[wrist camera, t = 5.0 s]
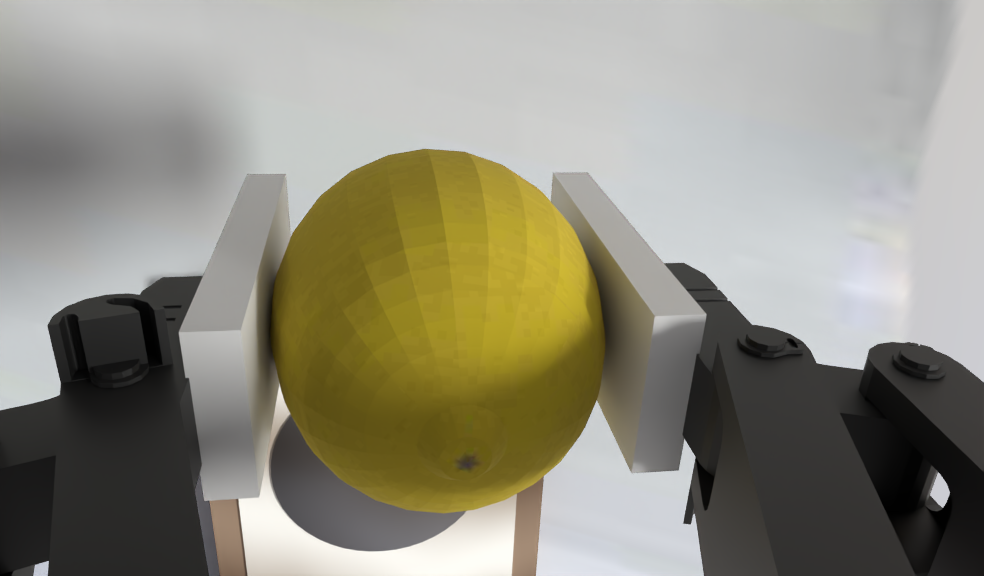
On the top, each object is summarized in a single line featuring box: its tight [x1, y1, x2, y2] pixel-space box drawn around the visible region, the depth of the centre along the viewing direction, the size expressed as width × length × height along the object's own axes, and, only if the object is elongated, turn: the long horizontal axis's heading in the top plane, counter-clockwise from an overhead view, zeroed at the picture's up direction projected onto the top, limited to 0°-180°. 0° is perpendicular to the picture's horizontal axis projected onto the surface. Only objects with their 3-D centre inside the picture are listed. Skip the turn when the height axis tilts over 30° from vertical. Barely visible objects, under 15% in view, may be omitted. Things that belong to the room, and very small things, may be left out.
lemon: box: [270, 149, 606, 513], centre depth 13 cm, size 6×6×8 cm
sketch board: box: [210, 384, 544, 576], centre depth 28 cm, size 14×12×1 cm
